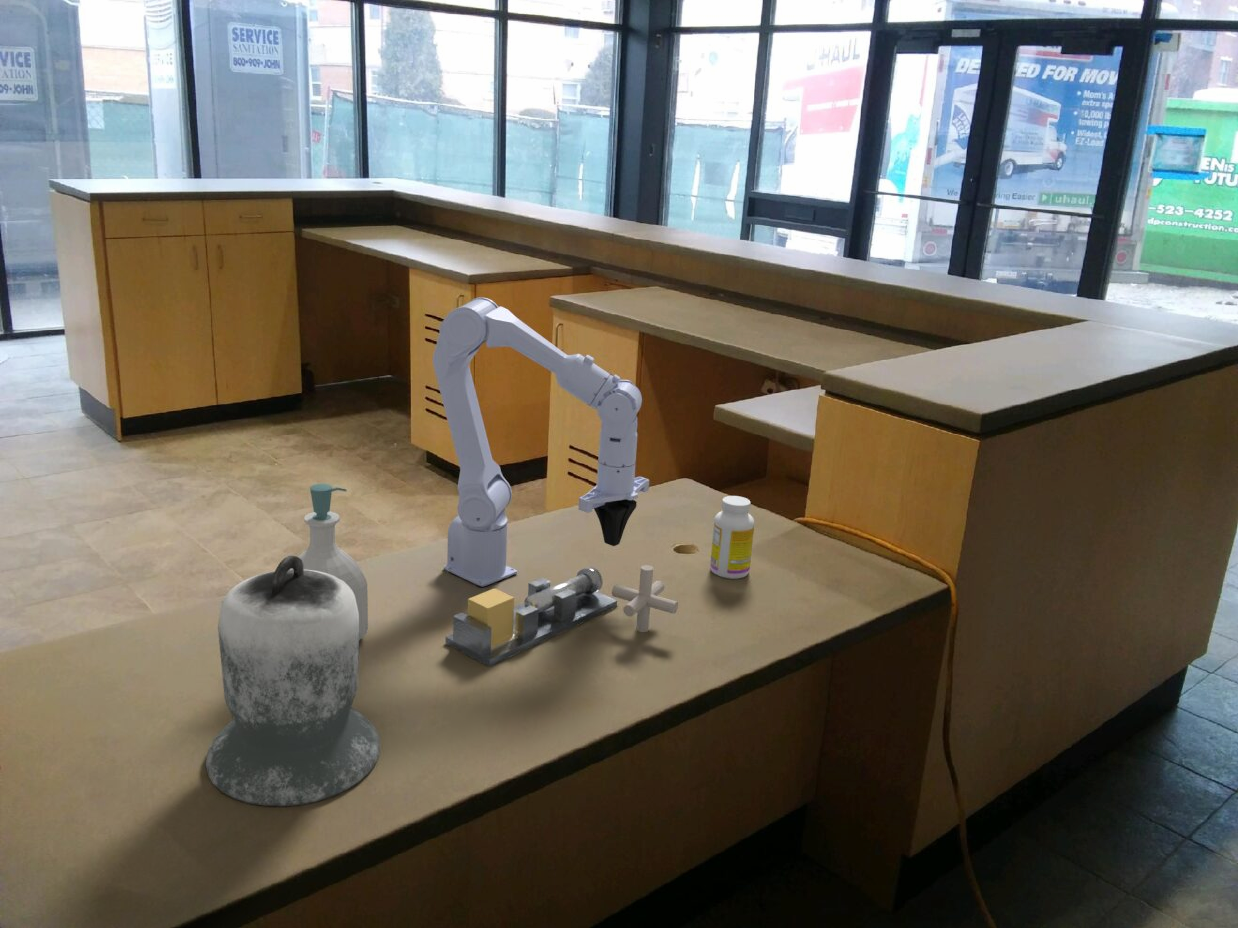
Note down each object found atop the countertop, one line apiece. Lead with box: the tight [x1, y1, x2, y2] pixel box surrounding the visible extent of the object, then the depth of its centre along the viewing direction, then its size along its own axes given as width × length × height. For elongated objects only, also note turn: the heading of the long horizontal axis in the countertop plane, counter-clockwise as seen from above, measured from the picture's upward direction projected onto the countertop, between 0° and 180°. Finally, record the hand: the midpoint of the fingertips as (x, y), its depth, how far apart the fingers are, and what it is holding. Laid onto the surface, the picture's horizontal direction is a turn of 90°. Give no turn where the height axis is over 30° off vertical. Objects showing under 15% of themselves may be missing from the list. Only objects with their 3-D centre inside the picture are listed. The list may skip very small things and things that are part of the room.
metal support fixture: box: [445, 576, 618, 667], centre depth 158 cm, size 9×27×5 cm, turn 140°
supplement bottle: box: [709, 495, 755, 580], centre depth 179 cm, size 7×7×13 cm
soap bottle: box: [289, 483, 369, 641], centre depth 147 cm, size 10×10×23 cm
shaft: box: [523, 566, 603, 613], centre depth 162 cm, size 4×14×4 cm, turn 140°
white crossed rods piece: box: [611, 564, 679, 633], centre depth 158 cm, size 10×10×10 cm
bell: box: [205, 555, 381, 807], centre depth 120 cm, size 19×19×25 cm
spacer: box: [467, 588, 515, 645], centre depth 151 cm, size 4×5×6 cm
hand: (611, 543), depth 168 cm, fingers closed
